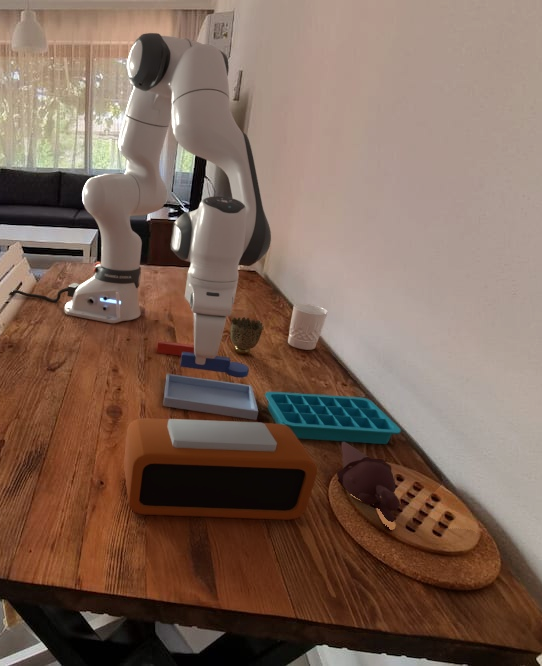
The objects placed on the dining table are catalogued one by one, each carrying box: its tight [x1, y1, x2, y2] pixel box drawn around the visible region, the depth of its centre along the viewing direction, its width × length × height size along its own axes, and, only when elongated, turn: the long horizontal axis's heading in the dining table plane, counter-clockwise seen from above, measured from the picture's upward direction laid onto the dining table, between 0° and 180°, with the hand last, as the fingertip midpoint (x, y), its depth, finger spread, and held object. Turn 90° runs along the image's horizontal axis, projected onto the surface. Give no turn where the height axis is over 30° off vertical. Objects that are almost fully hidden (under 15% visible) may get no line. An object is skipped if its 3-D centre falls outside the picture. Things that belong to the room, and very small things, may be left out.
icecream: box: [336, 441, 401, 532], centre depth 66 cm, size 7×7×15 cm
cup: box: [230, 317, 265, 355], centre depth 111 cm, size 8×7×8 cm
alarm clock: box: [123, 417, 318, 521], centre depth 63 cm, size 24×8×11 cm, turn 90°
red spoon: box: [156, 340, 194, 357], centre depth 109 cm, size 13×4×3 cm, turn 78°
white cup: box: [287, 303, 329, 351], centre depth 117 cm, size 8×8×10 cm
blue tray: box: [162, 373, 259, 421], centre depth 90 cm, size 17×10×2 cm, turn 78°
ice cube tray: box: [264, 391, 402, 445], centre depth 84 cm, size 12×20×3 cm, turn 87°
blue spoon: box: [179, 352, 250, 378], centre depth 88 cm, size 13×4×3 cm, turn 78°
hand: (199, 359), depth 88 cm, fingers closed on blue spoon
